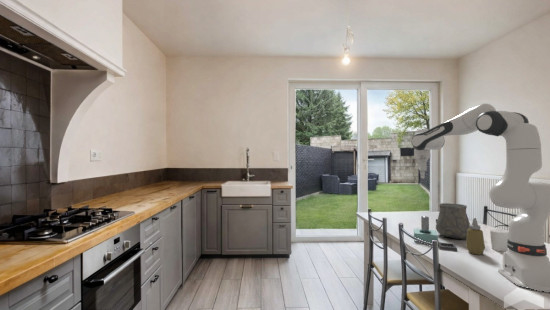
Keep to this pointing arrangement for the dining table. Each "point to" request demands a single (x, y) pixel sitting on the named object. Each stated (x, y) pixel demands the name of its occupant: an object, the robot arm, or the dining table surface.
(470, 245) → the squeeze bottle
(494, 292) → the dining table surface
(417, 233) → the socket block
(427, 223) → the spigot
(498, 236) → the white cup
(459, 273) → the dining table surface
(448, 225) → the vessel
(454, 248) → the mount collar
